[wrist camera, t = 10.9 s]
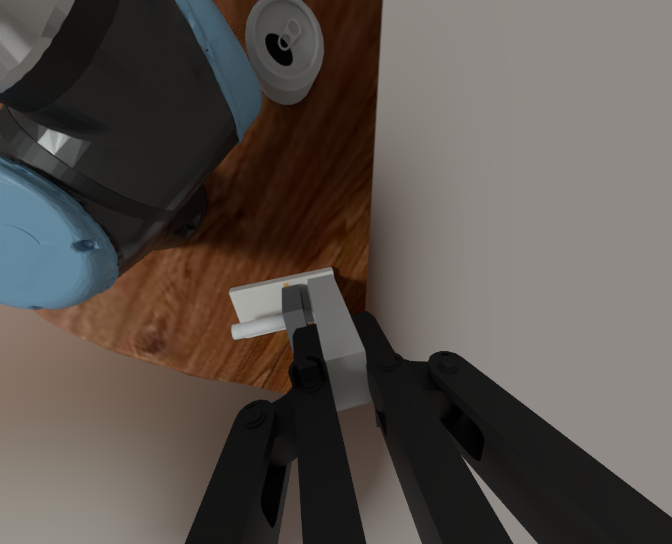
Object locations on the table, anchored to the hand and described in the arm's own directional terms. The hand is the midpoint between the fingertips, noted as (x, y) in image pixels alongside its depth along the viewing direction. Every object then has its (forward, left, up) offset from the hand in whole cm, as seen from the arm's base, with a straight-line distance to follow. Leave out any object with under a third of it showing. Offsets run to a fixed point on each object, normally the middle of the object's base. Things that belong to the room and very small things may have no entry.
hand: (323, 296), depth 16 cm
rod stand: (-5, -17, -29) cm, 34 cm away
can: (+2, +17, -30) cm, 34 cm away
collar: (-4, -17, -27) cm, 32 cm away
